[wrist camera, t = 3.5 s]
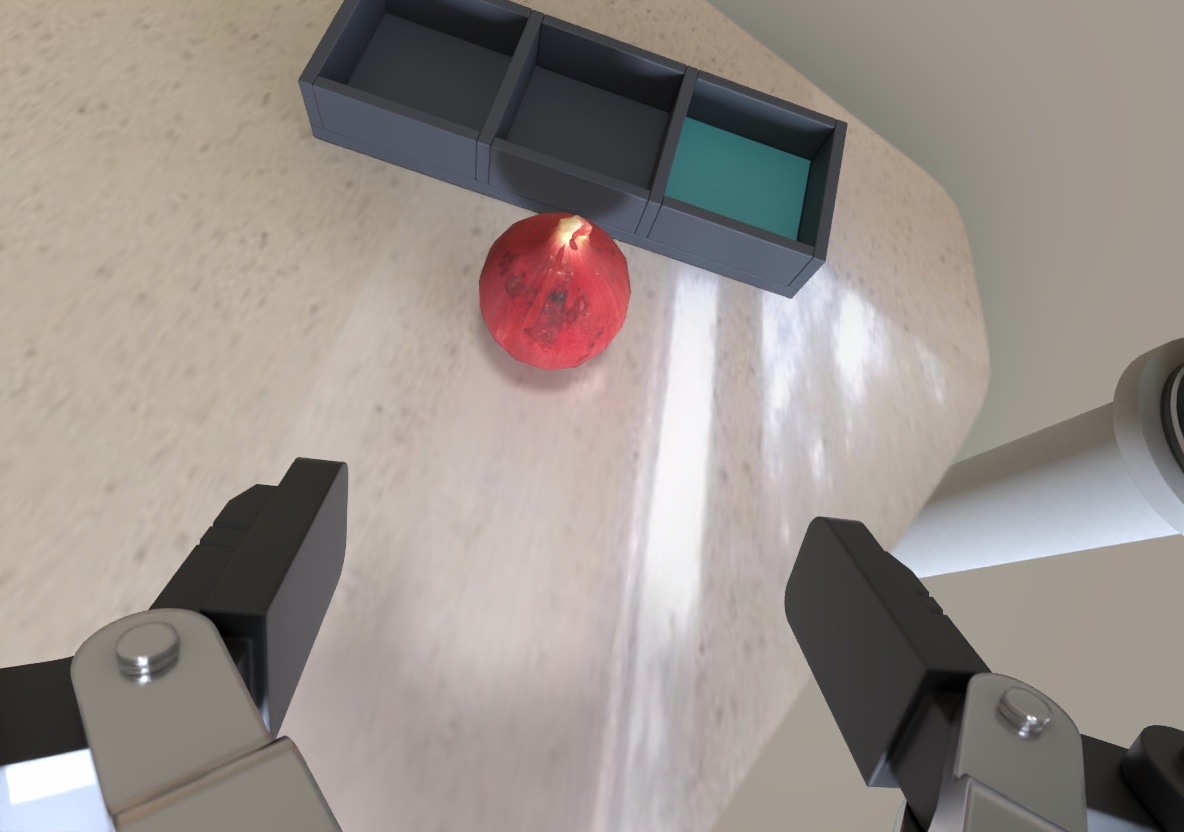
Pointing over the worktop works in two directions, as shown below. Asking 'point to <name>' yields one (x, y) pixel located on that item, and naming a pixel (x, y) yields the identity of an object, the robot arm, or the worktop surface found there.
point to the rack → (582, 131)
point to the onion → (554, 290)
